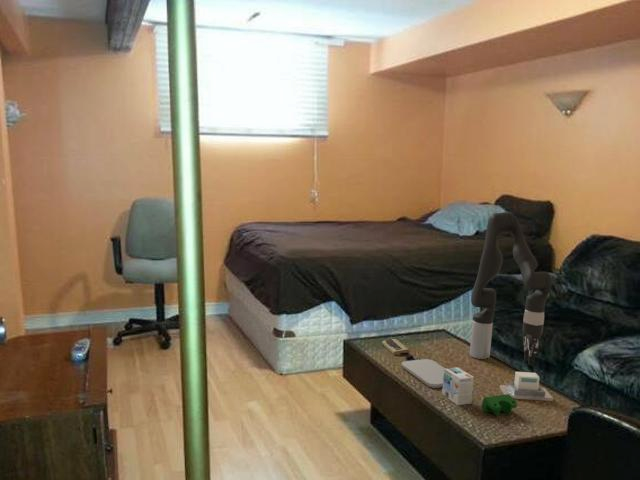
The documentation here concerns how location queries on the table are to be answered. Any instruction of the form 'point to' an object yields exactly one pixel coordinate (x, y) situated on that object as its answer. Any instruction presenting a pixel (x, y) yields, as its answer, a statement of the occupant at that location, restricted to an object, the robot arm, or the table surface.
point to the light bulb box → (457, 386)
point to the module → (526, 381)
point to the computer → (395, 347)
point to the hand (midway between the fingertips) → (529, 362)
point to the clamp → (499, 404)
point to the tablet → (426, 371)
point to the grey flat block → (526, 393)
